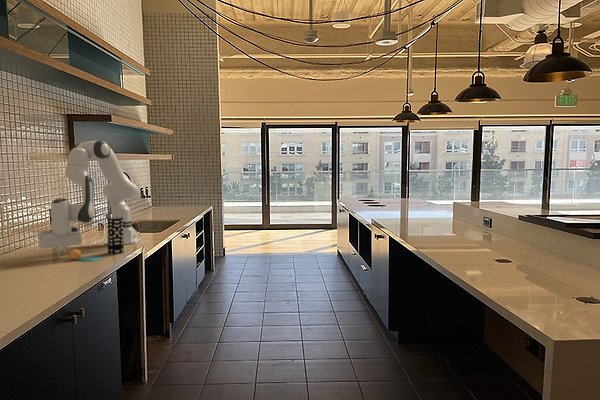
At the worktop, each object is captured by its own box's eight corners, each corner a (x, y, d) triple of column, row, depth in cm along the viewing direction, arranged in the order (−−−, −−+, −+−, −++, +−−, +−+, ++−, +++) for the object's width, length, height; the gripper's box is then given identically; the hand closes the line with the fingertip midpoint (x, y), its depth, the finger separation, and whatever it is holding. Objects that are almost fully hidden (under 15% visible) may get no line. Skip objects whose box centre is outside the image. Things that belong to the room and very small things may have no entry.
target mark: (85, 256, 243) (85, 255, 243) (107, 256, 242) (107, 256, 242) (70, 261, 230) (70, 260, 230) (94, 261, 229) (94, 261, 229)
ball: (83, 259, 234) (76, 260, 236) (83, 248, 235) (76, 250, 237) (74, 258, 229) (67, 260, 231) (74, 248, 230) (66, 250, 232)
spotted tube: (117, 254, 248) (117, 219, 247) (104, 253, 250) (104, 218, 248) (126, 251, 256) (126, 217, 255) (113, 251, 258) (113, 216, 257)
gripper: (40, 231, 227) (41, 258, 228) (82, 228, 241) (83, 253, 242) (36, 230, 231) (37, 256, 232) (78, 227, 245) (79, 251, 246)
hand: (61, 254), depth 237 cm, fingers closed
